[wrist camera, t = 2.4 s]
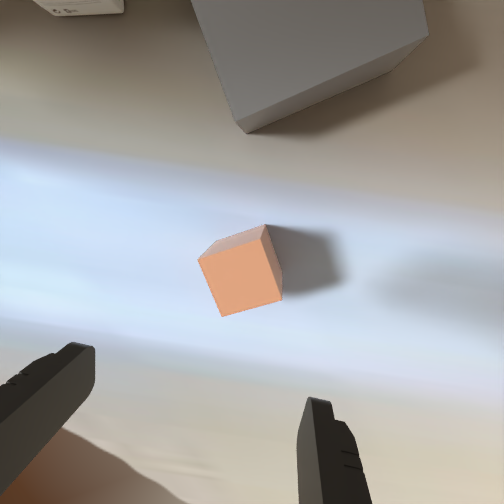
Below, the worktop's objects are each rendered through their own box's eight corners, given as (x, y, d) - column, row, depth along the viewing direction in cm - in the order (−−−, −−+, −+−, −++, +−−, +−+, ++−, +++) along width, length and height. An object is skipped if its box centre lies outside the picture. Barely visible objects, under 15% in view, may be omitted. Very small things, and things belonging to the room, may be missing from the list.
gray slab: (246, 134, 24) (234, 121, 18) (190, -23, 21) (155, -97, 15) (389, 72, 21) (429, 34, 15) (346, -114, 19) (374, -242, 13)
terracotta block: (234, 287, 27) (221, 316, 22) (216, 240, 26) (197, 259, 20) (282, 272, 26) (282, 299, 21) (265, 224, 25) (260, 238, 20)
